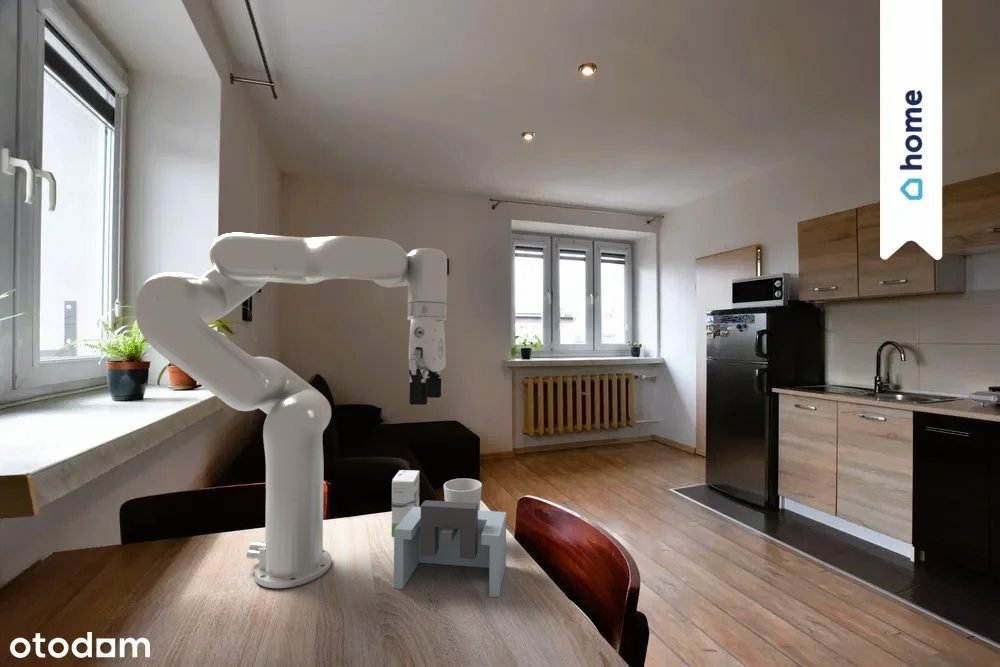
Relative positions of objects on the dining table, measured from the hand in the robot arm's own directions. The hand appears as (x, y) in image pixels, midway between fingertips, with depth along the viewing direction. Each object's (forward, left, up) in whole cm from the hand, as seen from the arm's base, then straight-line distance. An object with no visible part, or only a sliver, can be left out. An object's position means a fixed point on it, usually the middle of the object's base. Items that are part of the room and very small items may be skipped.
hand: (426, 400), depth 85 cm
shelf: (+7, -6, -30) cm, 32 cm away
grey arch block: (+7, -8, -25) cm, 27 cm away
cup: (+6, +7, -31) cm, 32 cm away
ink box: (-8, +12, -31) cm, 34 cm away
